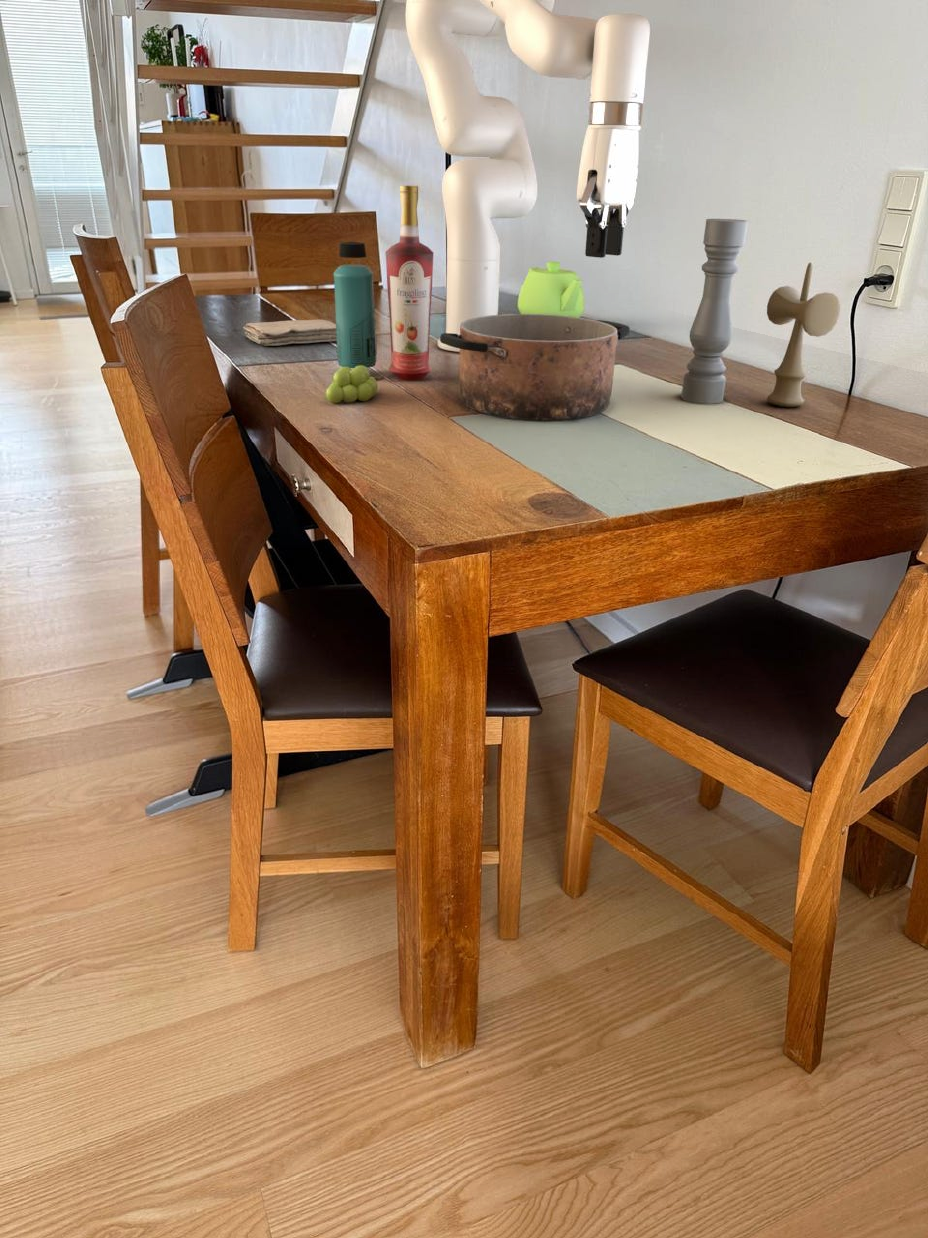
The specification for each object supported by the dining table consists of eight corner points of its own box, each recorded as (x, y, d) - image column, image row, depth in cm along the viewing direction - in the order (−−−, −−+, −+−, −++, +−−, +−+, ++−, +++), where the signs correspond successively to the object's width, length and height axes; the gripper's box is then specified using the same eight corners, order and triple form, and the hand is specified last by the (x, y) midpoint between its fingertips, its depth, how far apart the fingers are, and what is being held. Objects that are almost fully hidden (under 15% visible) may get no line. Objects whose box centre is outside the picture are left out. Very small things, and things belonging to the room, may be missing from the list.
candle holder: (724, 396, 141) (751, 219, 130) (720, 405, 136) (748, 222, 125) (683, 392, 143) (706, 217, 132) (678, 401, 138) (702, 220, 126)
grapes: (367, 386, 142) (366, 357, 140) (401, 394, 138) (401, 363, 136) (311, 400, 133) (310, 369, 131) (346, 408, 130) (345, 376, 128)
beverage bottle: (370, 379, 146) (367, 244, 137) (331, 376, 148) (325, 242, 138) (382, 370, 152) (379, 240, 143) (343, 368, 153) (338, 239, 144)
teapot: (602, 330, 191) (607, 266, 185) (545, 334, 186) (550, 268, 180) (553, 315, 207) (557, 256, 201) (500, 318, 202) (503, 257, 196)
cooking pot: (569, 376, 151) (574, 308, 146) (661, 407, 134) (671, 331, 129) (408, 395, 137) (408, 321, 132) (489, 432, 120) (492, 348, 115)
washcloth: (241, 337, 176) (239, 320, 175) (329, 330, 184) (328, 314, 182) (260, 348, 167) (259, 330, 165) (352, 341, 175) (351, 324, 173)
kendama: (788, 414, 132) (815, 266, 123) (748, 398, 140) (771, 258, 131) (822, 411, 134) (851, 265, 125) (780, 396, 142) (805, 258, 133)
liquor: (389, 382, 145) (386, 186, 132) (385, 372, 151) (382, 184, 138) (435, 381, 146) (437, 187, 133) (429, 371, 152) (430, 185, 139)
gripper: (620, 120, 139) (608, 250, 147) (561, 115, 127) (552, 257, 135) (665, 120, 135) (651, 254, 143) (608, 115, 123) (596, 261, 131)
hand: (603, 254), depth 139 cm, fingers open, 4 cm apart
